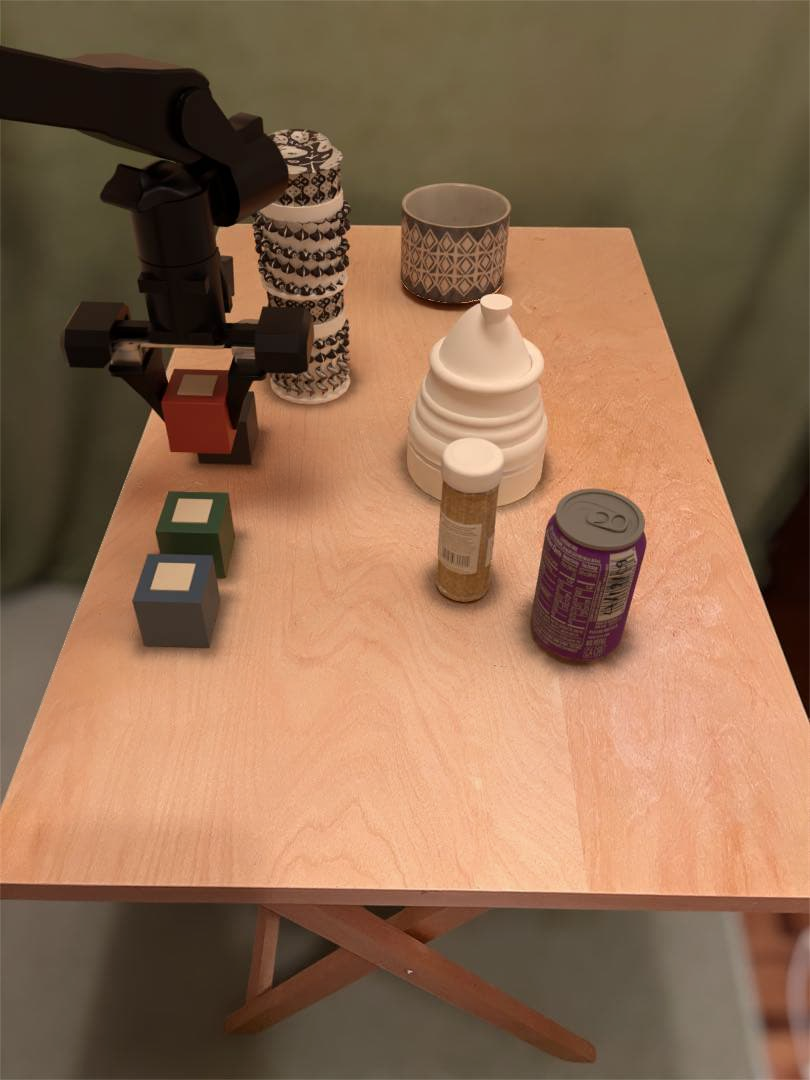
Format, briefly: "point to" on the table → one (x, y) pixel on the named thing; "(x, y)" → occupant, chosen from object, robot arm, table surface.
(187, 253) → the robot arm
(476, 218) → the planter
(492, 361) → the honey pot
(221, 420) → the red cube
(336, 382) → the decorative candle
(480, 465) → the sprinkles bottle
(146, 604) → the slate block
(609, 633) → the beverage can
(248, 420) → the charcoal block
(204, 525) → the green block
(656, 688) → the table surface
